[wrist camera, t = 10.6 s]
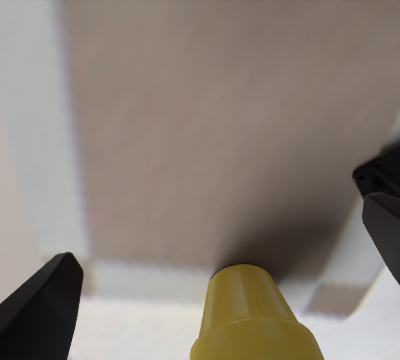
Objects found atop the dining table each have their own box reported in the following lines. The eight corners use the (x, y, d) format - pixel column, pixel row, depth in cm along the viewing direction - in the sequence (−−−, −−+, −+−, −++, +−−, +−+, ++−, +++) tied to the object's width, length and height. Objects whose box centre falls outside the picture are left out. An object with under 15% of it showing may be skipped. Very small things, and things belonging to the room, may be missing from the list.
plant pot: (172, 264, 26) (166, 383, 18) (281, 236, 25) (329, 350, 17) (205, 324, 32) (212, 438, 23) (296, 304, 30) (338, 416, 22)
